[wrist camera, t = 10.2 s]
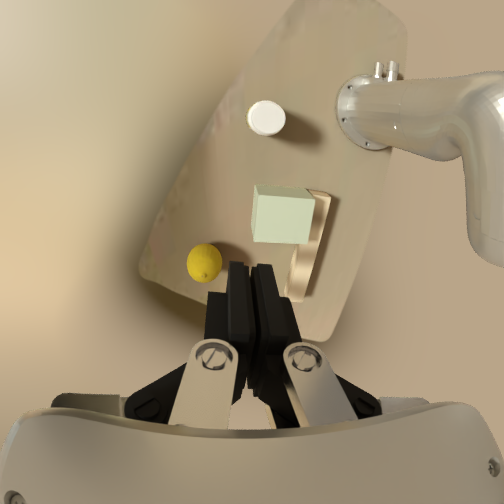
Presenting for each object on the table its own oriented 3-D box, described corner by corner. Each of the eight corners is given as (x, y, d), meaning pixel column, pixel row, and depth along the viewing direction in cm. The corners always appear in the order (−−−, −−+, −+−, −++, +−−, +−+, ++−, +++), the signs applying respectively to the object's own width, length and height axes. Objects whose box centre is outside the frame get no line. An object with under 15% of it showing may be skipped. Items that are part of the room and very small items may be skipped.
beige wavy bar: (307, 189, 42) (313, 194, 40) (325, 192, 43) (331, 197, 40) (283, 291, 52) (286, 301, 49) (299, 292, 52) (302, 302, 49)
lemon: (228, 244, 46) (228, 270, 39) (213, 269, 48) (211, 297, 41) (198, 230, 44) (193, 253, 37) (185, 256, 46) (178, 282, 39)
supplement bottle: (284, 119, 37) (297, 121, 29) (260, 139, 38) (267, 145, 31) (262, 96, 35) (270, 91, 27) (238, 116, 36) (240, 116, 29)
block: (254, 183, 41) (258, 194, 36) (304, 188, 42) (315, 199, 37) (251, 225, 45) (253, 241, 40) (298, 228, 46) (307, 244, 40)
